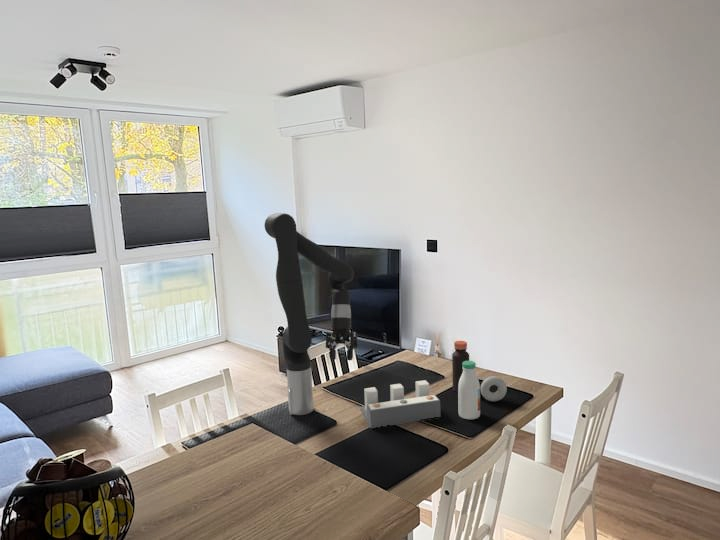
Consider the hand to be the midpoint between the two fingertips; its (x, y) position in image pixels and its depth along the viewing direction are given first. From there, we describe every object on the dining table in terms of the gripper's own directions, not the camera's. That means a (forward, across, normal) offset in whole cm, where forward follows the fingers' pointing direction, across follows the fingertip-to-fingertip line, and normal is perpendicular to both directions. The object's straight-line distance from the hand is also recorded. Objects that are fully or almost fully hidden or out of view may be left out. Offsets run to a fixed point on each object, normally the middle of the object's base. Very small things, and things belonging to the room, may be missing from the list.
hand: (341, 359), depth 187 cm
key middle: (+17, +16, +14) cm, 27 cm away
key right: (+16, +22, +22) cm, 35 cm away
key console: (+20, +18, +13) cm, 29 cm away
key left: (+18, +10, +6) cm, 22 cm away
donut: (+16, +41, +42) cm, 61 cm away
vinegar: (+13, +26, +44) cm, 53 cm away
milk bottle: (+20, +38, +27) cm, 51 cm away
